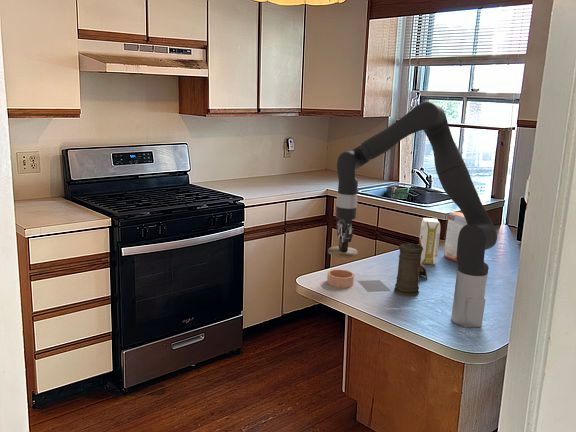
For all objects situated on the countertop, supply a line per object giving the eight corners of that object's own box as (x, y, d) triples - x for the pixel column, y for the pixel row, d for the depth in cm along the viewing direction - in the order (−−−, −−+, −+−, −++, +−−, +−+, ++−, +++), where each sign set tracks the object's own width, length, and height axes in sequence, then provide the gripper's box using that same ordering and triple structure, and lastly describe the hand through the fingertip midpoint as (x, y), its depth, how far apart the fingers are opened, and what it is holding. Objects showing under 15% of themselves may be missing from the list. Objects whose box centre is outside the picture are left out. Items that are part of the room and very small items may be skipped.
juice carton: (433, 259, 238) (438, 218, 234) (436, 265, 230) (442, 222, 226) (416, 258, 239) (421, 217, 235) (419, 264, 231) (423, 221, 226)
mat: (390, 291, 197) (390, 290, 197) (367, 292, 195) (367, 291, 195) (379, 281, 208) (379, 280, 207) (357, 281, 206) (357, 280, 206)
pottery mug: (431, 283, 209) (424, 267, 206) (407, 291, 211) (400, 275, 208) (425, 266, 220) (419, 251, 216) (403, 274, 222) (397, 258, 219)
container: (400, 298, 192) (406, 250, 187) (389, 288, 200) (394, 242, 196) (423, 296, 194) (428, 249, 190) (411, 287, 202) (416, 242, 198)
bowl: (356, 288, 199) (357, 277, 198) (331, 288, 197) (332, 278, 196) (348, 278, 208) (349, 269, 207) (324, 279, 206) (324, 269, 205)
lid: (361, 257, 196) (362, 244, 195) (333, 258, 193) (333, 244, 192) (351, 248, 206) (352, 236, 205) (324, 249, 204) (325, 236, 203)
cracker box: (474, 264, 234) (480, 218, 229) (463, 265, 232) (469, 219, 227) (453, 255, 246) (459, 211, 242) (443, 256, 244) (448, 211, 239)
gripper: (362, 209, 190) (358, 256, 194) (350, 201, 203) (346, 245, 207) (342, 209, 188) (338, 256, 192) (331, 201, 201) (328, 245, 205)
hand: (342, 250), depth 200 cm, fingers closed on lid, 2 cm apart
